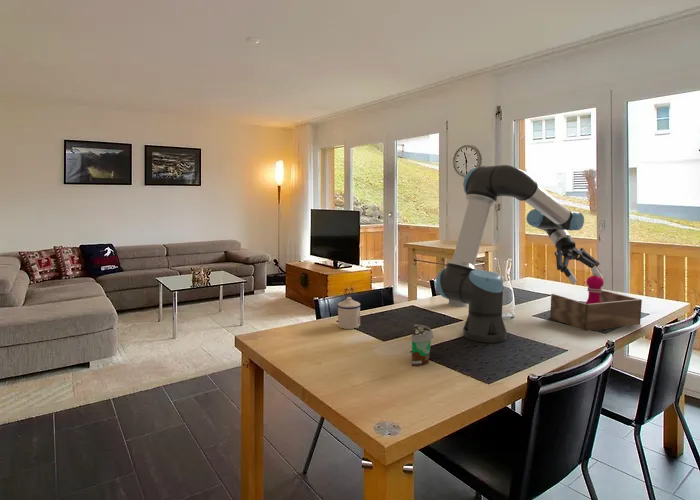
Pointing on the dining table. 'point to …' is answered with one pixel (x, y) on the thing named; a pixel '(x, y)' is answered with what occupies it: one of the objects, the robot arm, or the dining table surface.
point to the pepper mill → (594, 288)
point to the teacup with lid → (349, 314)
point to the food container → (421, 345)
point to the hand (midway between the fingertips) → (588, 281)
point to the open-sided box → (597, 311)
